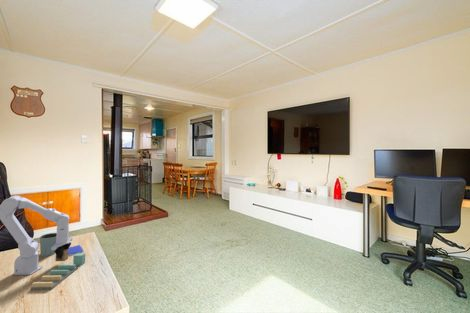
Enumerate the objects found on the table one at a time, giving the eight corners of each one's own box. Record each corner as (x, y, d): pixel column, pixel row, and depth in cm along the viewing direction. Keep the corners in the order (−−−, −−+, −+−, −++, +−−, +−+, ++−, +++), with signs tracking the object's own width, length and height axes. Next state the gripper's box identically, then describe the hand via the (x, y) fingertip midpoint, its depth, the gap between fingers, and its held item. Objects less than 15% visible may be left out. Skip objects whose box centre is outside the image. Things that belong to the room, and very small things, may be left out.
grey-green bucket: (37, 253, 138) (37, 236, 138) (56, 248, 147) (56, 231, 147) (42, 258, 133) (42, 239, 133) (62, 252, 141) (62, 234, 141)
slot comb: (30, 289, 102) (30, 283, 102) (58, 269, 120) (58, 264, 120) (52, 289, 103) (52, 283, 103) (76, 269, 121) (77, 264, 121)
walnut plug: (55, 261, 124) (55, 251, 124) (59, 258, 127) (59, 249, 127) (64, 261, 125) (64, 251, 125) (68, 258, 128) (68, 249, 128)
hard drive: (65, 248, 145) (68, 254, 137) (80, 244, 151) (83, 250, 142) (65, 250, 145) (68, 256, 137) (80, 246, 151) (83, 252, 142)
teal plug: (73, 265, 125) (73, 255, 125) (76, 262, 128) (76, 253, 128) (81, 265, 126) (82, 255, 126) (85, 262, 129) (85, 253, 129)
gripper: (60, 239, 119) (59, 263, 119) (77, 230, 134) (77, 251, 134) (47, 239, 119) (46, 263, 119) (66, 230, 133) (65, 251, 133)
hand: (61, 257), depth 126 cm, fingers closed on walnut plug, 3 cm apart
